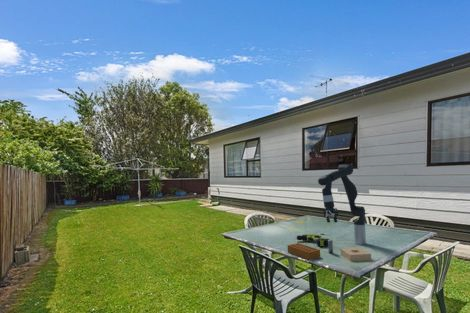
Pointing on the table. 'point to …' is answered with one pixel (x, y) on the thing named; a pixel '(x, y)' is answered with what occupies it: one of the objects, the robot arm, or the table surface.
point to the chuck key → (330, 246)
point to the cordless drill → (314, 239)
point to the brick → (304, 251)
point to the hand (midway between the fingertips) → (332, 222)
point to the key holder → (355, 254)
